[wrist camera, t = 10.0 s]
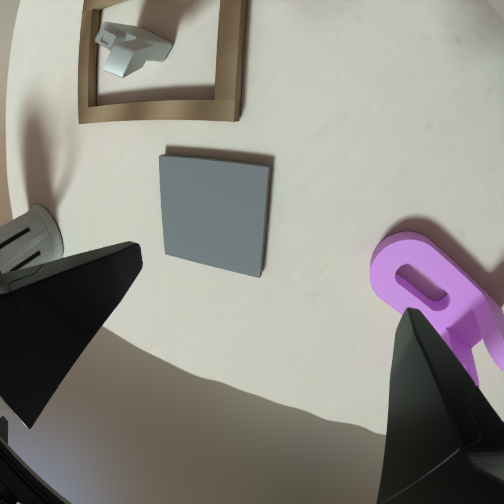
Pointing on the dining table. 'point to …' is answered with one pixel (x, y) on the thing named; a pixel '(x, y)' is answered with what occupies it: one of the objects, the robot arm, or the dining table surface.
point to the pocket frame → (201, 109)
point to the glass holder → (29, 240)
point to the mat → (215, 211)
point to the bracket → (448, 308)
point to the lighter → (130, 47)
